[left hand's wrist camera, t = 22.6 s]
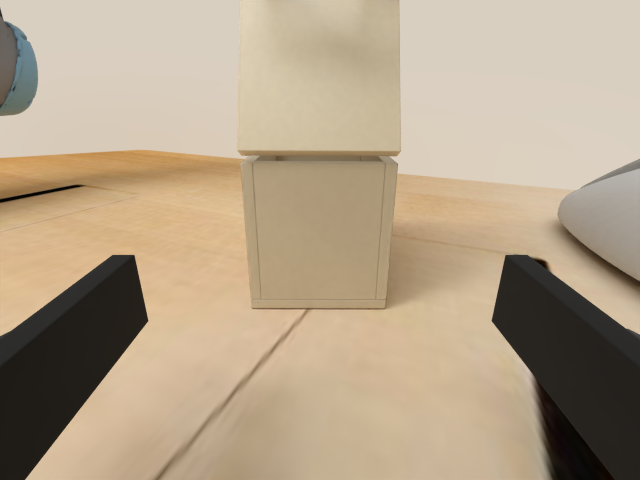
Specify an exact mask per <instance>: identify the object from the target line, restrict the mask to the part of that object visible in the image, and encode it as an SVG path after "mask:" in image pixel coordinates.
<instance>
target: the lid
mask: <svg viewBox="0 0 640 480" xmlns="http://www.w3.org/2000/svg"><path fill="white" fill-rule="evenodd" d="M400 129H401V128H400V26H399V0H240V25H239V89H238V152H239V153H240V154H241V155H242V156H397V155H398V154H399V153H400V151H401V130H400Z"/></svg>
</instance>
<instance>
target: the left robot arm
mask: <svg viewBox="0 0 640 480" xmlns="http://www.w3.org/2000/svg"><path fill="white" fill-rule="evenodd" d="M147 322H148V317H147V313H146V308H145V303H144V298H143V294H142V289H141V284H140V279H139V275H138V270H137V265H136V261H135V256H134V255H112V256H111V257H109V258H108V259H107V260H105V261H104V262H103V263H101V264H100V265H99V266H97V267H96V268H95V269H93V270H92V271H91V272H89V273H88V274H87V275H85V276H84V277H83V278H81V279H80V280H79V281H77V282H76V283H75V284H73V285H72V286H71V287H69V288H68V289H67V290H65V291H64V292H63V293H61V294H60V295H59V296H57V297H56V298H55V299H53V300H52V301H51V302H49V303H48V304H47V305H45V306H44V307H43V308H41V309H40V310H39V311H37V312H36V313H35V314H33V315H32V316H30V317H29V318H28V319H26V320H25V321H24V322H22V323H21V324H20V325H18V326H17V327H16V328H14V329H13V330H12V331H10V332H8V333H6V334H4V335H2V336H0V480H25V479H26V478H27V476H28V475H29V474H30V473H31V471H32V470H33V469H34V467H35V466H36V465H37V464H38V462H39V461H40V460H41V458H42V457H43V456H44V455H45V453H46V452H47V451H48V449H49V448H50V447H51V446H52V444H53V443H54V442H55V440H56V439H57V438H58V437H59V435H60V434H61V433H62V431H63V430H64V429H65V428H66V426H67V425H68V424H69V422H70V421H71V420H72V419H73V417H74V416H75V415H76V413H77V412H78V411H79V410H80V408H81V407H82V406H83V404H84V403H85V402H86V401H87V399H88V398H89V397H90V395H91V394H92V393H93V391H94V390H95V389H96V388H97V386H98V385H99V384H100V382H101V381H102V380H103V379H104V377H105V376H106V375H107V373H108V372H109V371H110V370H111V368H112V367H113V366H114V364H115V363H116V362H117V361H118V359H119V358H120V357H121V355H122V354H123V353H124V352H125V350H126V349H127V348H128V346H129V345H130V344H131V343H132V341H133V340H134V339H135V337H136V336H137V335H138V334H139V332H140V331H141V330H142V328H143V327H144V326H145V325H146V323H147ZM492 322H493V323H494V325H495V326H496V327H497V328H498V330H499V331H500V332H501V334H502V335H503V336H504V337H505V339H506V340H507V341H508V343H509V344H510V345H511V346H512V348H513V349H514V350H515V352H516V353H517V354H518V355H519V357H520V358H521V359H522V361H523V362H524V363H525V364H526V366H527V367H528V368H529V370H530V371H531V372H532V373H533V375H534V376H535V377H536V379H537V380H538V381H539V382H540V384H541V385H542V386H543V388H544V389H545V390H546V391H547V393H548V394H549V395H550V397H551V398H552V399H553V401H554V402H555V403H556V404H557V406H558V407H559V408H560V410H561V411H562V412H563V413H564V415H565V416H566V417H567V419H568V420H569V421H570V422H571V424H572V425H573V426H574V428H575V429H576V430H577V431H578V433H579V434H580V435H581V437H582V438H583V439H584V440H585V442H586V443H587V444H588V446H589V447H590V448H591V449H592V451H593V452H594V453H595V455H596V456H597V457H598V458H599V460H600V461H601V462H602V464H603V465H604V466H605V467H606V469H607V470H608V471H609V473H610V474H611V475H612V476H613V478H614V479H615V480H640V335H639V334H637V333H635V332H633V331H631V330H629V329H626V328H624V327H623V326H622V325H620V324H619V323H618V322H616V321H615V320H614V319H612V318H611V317H610V316H608V315H607V314H605V313H604V312H603V311H601V310H600V309H599V308H597V307H596V306H595V305H593V304H592V303H591V302H589V301H588V300H587V299H585V298H584V297H583V296H581V295H580V294H579V293H577V292H576V291H575V290H573V289H572V288H571V287H569V286H568V285H567V284H565V283H564V282H563V281H561V280H560V279H559V278H557V277H556V276H555V275H553V274H552V273H551V272H549V271H548V270H547V269H545V268H544V267H543V266H541V265H540V264H539V263H537V262H536V261H535V260H533V259H532V258H531V257H529V256H528V255H506V256H505V261H504V265H503V270H502V275H501V279H500V284H499V289H498V294H497V298H496V303H495V308H494V313H493V317H492Z"/></svg>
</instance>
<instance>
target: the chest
mask: <svg viewBox="0 0 640 480" xmlns="http://www.w3.org/2000/svg"><path fill="white" fill-rule="evenodd" d="M240 166H241V179H242V192H243V204H244V217H245V230H246V243H247V256H248V269H249V282H250V294H251V307H252V308H383V309H384V308H385V306H386V296H387V284H388V273H389V261H390V250H391V238H392V227H393V215H394V204H395V192H396V180H397V169H398V164H397V163H396V162H395V161H394V160H393V159H391V158H390V157H389V156H248V157H247V158H246V159H245V160H244V161H242V162H241V164H240Z"/></svg>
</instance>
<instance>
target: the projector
mask: <svg viewBox="0 0 640 480" xmlns="http://www.w3.org/2000/svg"><path fill="white" fill-rule="evenodd" d="M558 218H559V220H560V222H561V223H562V224H563V225H564V226H565V228H566V229H567V230H568V231H569V232H570V233H571V234H572V235H574V236H575V237H576V238H577V239H578V240H579V241H580V242H582V243H583V244H584V245H585V246H587V247H588V248H589V249H591V250H592V251H593V252H595V253H596V254H597V255H599V256H600V257H602V258H603V259H605V260H606V261H608V262H609V263H611V264H612V265H614V266H615V267H617V268H619V269H620V270H622V271H623V272H625V273H626V274H628V275H630V276H632V277H633V278H635V279H637V280H638V281H640V159H638V160H636V161H634V162H632V163H629V164H627V165H625V166H623V167H621V168H618V169H616V170H614V171H612V172H610V173H608V174H606V175H604V176H602V177H600V178H598V179H596V180H594V181H592V182H590V183H588V184H586V185H585V186H583V187H581V188H580V189H578V190H576V191H574V192H572V193H571V194H569V195H567V196H566V197H564V198H563V200H562V201H561V203H560V206H559V209H558Z"/></svg>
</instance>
